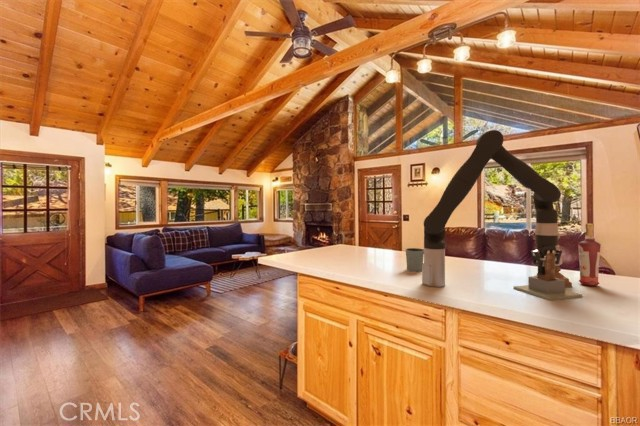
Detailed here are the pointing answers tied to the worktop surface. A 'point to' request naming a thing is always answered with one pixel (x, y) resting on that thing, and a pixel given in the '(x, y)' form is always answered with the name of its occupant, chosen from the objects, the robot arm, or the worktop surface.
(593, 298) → the worktop surface
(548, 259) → the wooden peg
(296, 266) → the worktop surface
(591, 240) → the liquor
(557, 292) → the box on flat tray
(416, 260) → the grey-green tapered pot
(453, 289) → the worktop surface
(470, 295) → the worktop surface
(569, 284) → the candle holder
